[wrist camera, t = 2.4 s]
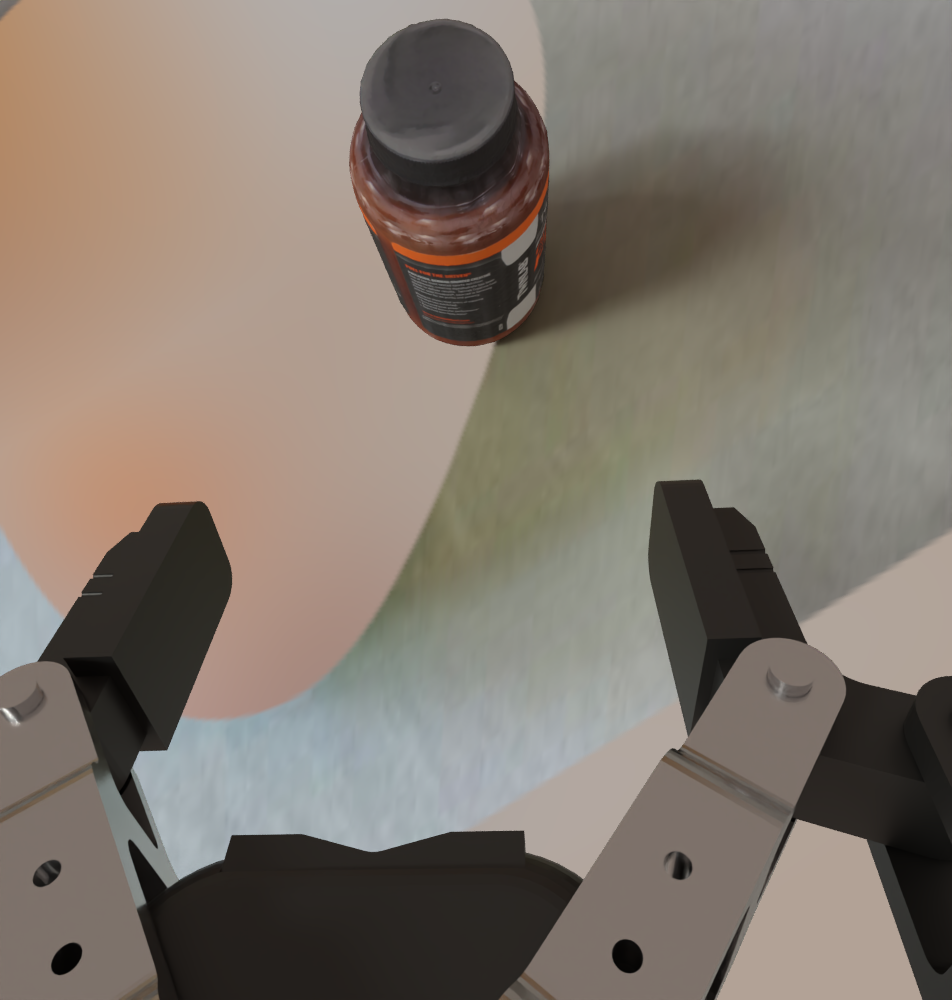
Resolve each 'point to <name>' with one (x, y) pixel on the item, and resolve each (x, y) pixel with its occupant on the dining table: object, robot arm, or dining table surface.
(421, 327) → the supplement bottle
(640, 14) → the dining table surface
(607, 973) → the robot arm
